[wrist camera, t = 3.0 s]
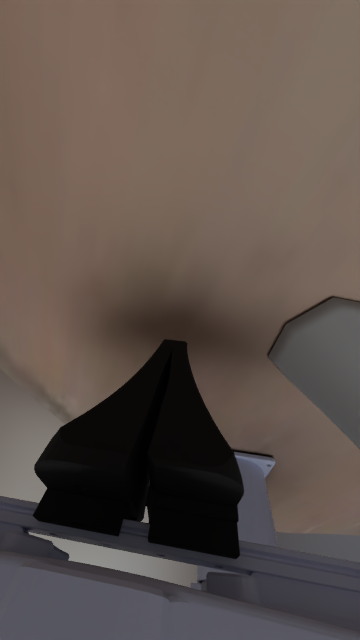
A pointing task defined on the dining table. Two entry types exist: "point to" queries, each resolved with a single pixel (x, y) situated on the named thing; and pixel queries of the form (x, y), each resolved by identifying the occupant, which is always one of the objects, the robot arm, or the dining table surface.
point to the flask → (325, 361)
